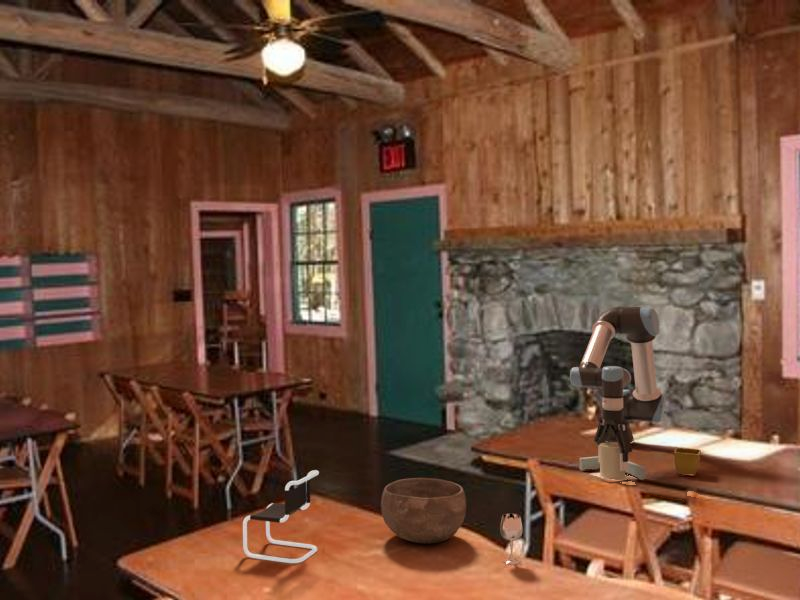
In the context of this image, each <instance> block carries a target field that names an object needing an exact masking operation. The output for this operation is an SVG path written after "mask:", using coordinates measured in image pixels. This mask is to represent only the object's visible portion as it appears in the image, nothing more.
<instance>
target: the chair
mask: <svg viewBox="0 0 800 600" xmlns="http://www.w3.org/2000/svg"><path fill="white" fill-rule="evenodd" d="M319 473H320V471H319V470H317V469H315V470H314V469H313V470H311V471H309V472H308V473H307V474H306V476H304V477H302V478H300V479H299V480H291V481H288V482H287V483H286V484H285V487H284V503H278V502H271V503H270V504H268V505H267V506H266V508H265V509H264V510H262V511H259V512H258V513H255V514H250V515H247V516H245V517H244V519H243V521H242V547H243V552H244V553H245V555H246V556H247V557H248V558H253V559H257V560H263V561H264V560H265V561H266V560H267V561H272V562H278V563H279V562H281V563H287V564H299V563H302V562H304V561H305V560H307V559H308V558H310V557H311V556H312V555H313V554H315V553H316V552H317V551H318V547H317V546H316V545H314V544H310V543H303V542H302V543H301V542H293V541H286V540H280V539H274V538H273V537H272V536H271V527H270V526H271V523H278V524H279V523H280V524H282V523H285V522H286V521H288V519H289V517H290V516H291V515H293V514H294V513H296V512H297V511H304V510H307V509H308V508H309V507H310V505H311V479H314V478H315V477H317V476H318V475H319ZM298 485H299V486H298ZM291 486H298V487H295V488H292V489H290V488H291ZM250 520H254V521H262V522H265V534H266V535H265V536H266V538H267V540H268V541H269V543H271V544H273V545H281V546H290V547H298V548H304V549H311V550H310V551H309V552H307V553H306V554H304V555H303V556H301V557H298V558H287V557H279V556H273V555H271V556H270V555H265V554H257V553H252V552H250V551H249V549H248V521H250Z"/></svg>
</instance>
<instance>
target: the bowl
mask: <svg viewBox="0 0 800 600" xmlns="http://www.w3.org/2000/svg"><path fill="white" fill-rule="evenodd" d="M380 511H381V516H382V519H383V521H384V523H385V525H386V526H387V527H388V528H389V530H390V531H391V532H392V533H394V535H396V536H398V537H399V538H401V539H403V540H405V541H408V542H412V543H416V544H417V543H418V544H436V543H441V542H444V541H447V540H449V539H450V538H452V536H454V535H456V533H457V532H458V531H459V530H460V528H461V527H462V524H463V523H464V520H465V517H466V511H467V496H466V493H465V490H464V488H463V486H462V485H460V484H458V483H455V482H453V481H449V480H445V479H440V478H431V477H428V478H427V477H413V478H412V477H411V478H410V477H409V478H404V479H403V478H402V479H397V480H395V481H392V482H391V483H388V484H387V485H386V486H385V487H384V488H383V491H382V495H381V501H380Z"/></svg>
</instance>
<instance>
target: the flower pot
mask: <svg viewBox="0 0 800 600" xmlns="http://www.w3.org/2000/svg"><path fill="white" fill-rule="evenodd" d="M701 451H702V450H701V449H698V448H697V449H696V448H685V447H676V448H675V449H674V452H673V453H674V454H673V456H674V465H675V469H676V471H677V473H678V474H679V473H680V474H695V475H696V473H697V472H698V469H699V465H700V461H701V453H702V452H701Z"/></svg>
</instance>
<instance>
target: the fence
mask: <svg viewBox="0 0 800 600" xmlns="http://www.w3.org/2000/svg"><path fill="white" fill-rule="evenodd" d="M578 460H579V463H578V464H579V465H578V466H579V468H578V469H580V470H579V471H581V472H583V471H586V470H585V469H588V468H595V467H600V463H599V462H598V455H597V456H596V455H595V456H589V457H587V456H586V457H579V459H578ZM646 468H647V467H646V466H644V465H639V464H638V463H635V462H632V461H629V460H628V470H626V472H628V473H631V474H632V475H635V476H636V477H638V478H639V479H638V478H637V479H638V480H641V481H644V479H647V478H646V477H647V475H646V474H647V473H646V472H647V471H646V470H647V469H646Z"/></svg>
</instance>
